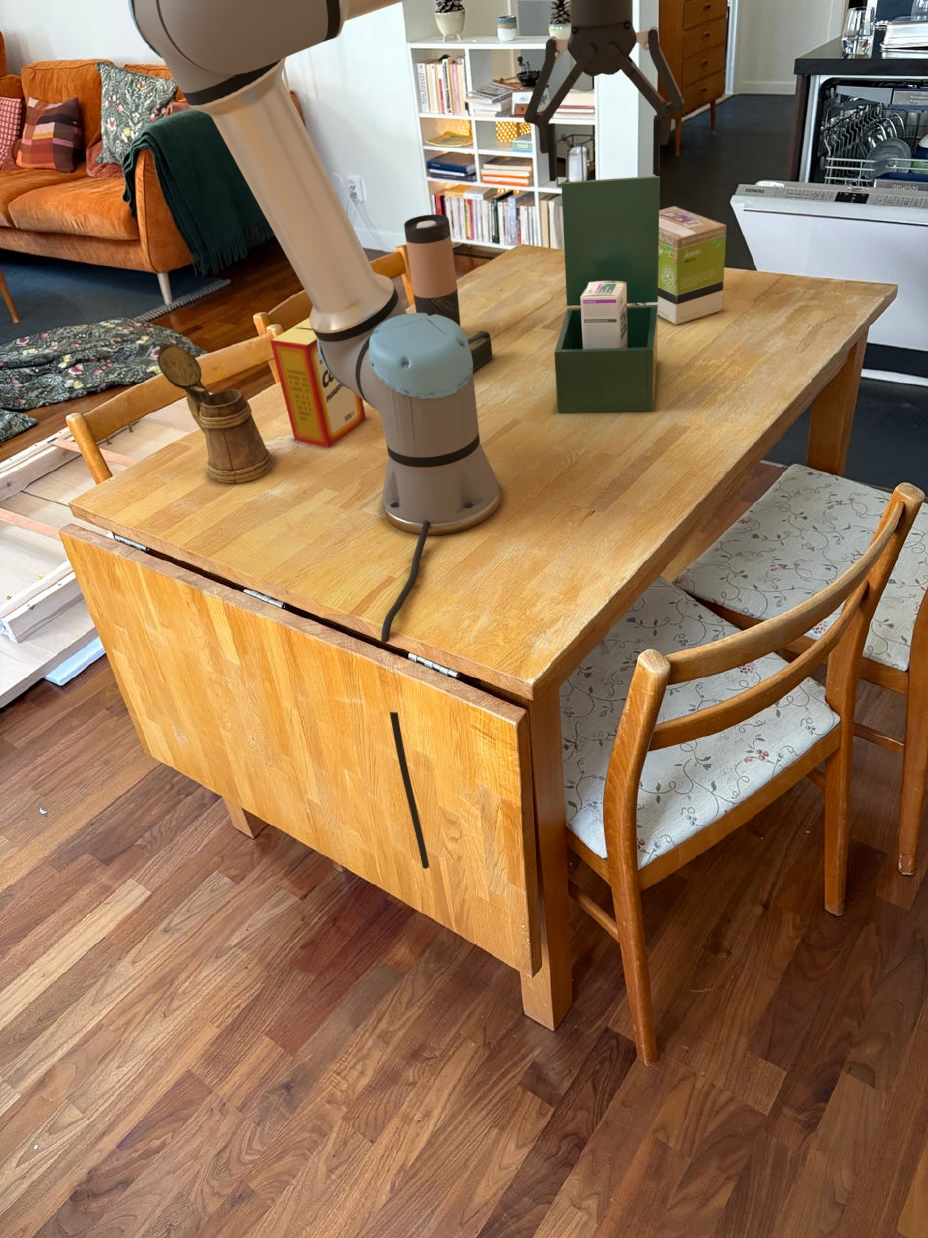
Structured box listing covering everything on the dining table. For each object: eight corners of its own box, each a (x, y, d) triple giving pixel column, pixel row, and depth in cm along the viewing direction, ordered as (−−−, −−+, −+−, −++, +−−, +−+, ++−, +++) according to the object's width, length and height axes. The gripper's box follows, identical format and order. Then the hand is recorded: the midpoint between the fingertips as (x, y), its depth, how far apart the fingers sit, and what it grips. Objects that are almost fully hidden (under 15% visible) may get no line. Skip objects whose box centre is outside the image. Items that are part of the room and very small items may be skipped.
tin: (652, 411, 138) (653, 349, 133) (557, 412, 141) (554, 352, 136) (657, 362, 151) (657, 304, 145) (569, 365, 154) (567, 307, 148)
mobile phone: (478, 327, 158) (425, 360, 149) (493, 329, 157) (441, 363, 148) (481, 355, 161) (429, 390, 152) (496, 358, 160) (444, 393, 151)
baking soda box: (328, 447, 141) (305, 343, 131) (294, 440, 144) (269, 337, 134) (366, 419, 147) (346, 317, 137) (333, 412, 150) (311, 313, 140)
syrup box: (622, 390, 143) (621, 294, 134) (583, 389, 144) (579, 294, 136) (628, 374, 147) (628, 279, 138) (590, 373, 149) (588, 280, 140)
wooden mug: (217, 444, 146) (183, 330, 135) (285, 459, 139) (255, 340, 128) (176, 472, 140) (136, 355, 129) (245, 489, 134) (209, 367, 123)
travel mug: (464, 328, 171) (451, 212, 159) (460, 345, 165) (446, 226, 153) (422, 331, 172) (406, 216, 160) (417, 348, 167) (399, 230, 154)
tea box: (626, 301, 173) (625, 216, 164) (673, 288, 176) (675, 203, 166) (675, 326, 162) (677, 236, 153) (724, 311, 164) (729, 222, 155)
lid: (659, 177, 134) (661, 162, 140) (561, 183, 137) (567, 169, 143) (657, 302, 145) (659, 284, 151) (566, 305, 148) (572, 287, 154)
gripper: (708, -29, 115) (700, 161, 128) (503, -7, 120) (516, 173, 133) (708, -23, 109) (700, 176, 122) (493, 1, 114) (507, 188, 127)
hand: (604, 175), depth 128 cm, fingers open, 13 cm apart
